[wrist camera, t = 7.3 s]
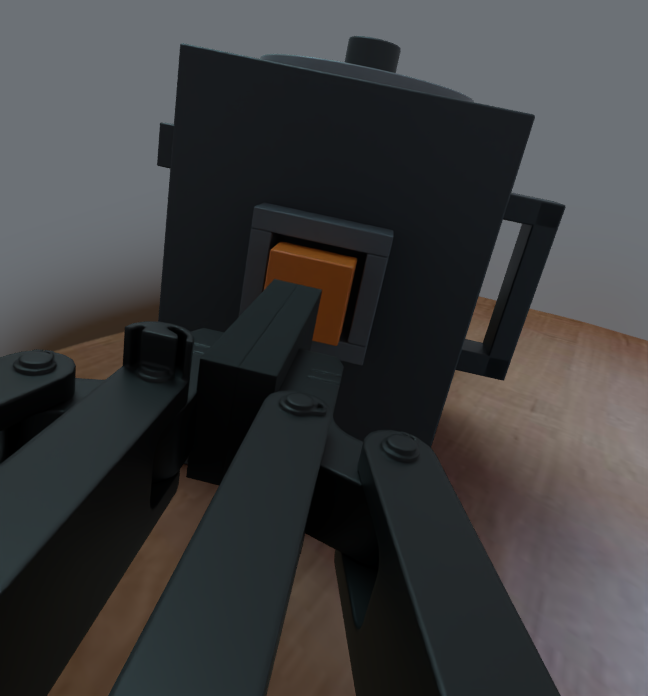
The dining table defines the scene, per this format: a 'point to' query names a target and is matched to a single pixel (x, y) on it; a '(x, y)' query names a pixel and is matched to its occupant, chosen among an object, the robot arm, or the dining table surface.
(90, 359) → the dining table surface
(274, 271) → the kettle switch
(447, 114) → the kettle
